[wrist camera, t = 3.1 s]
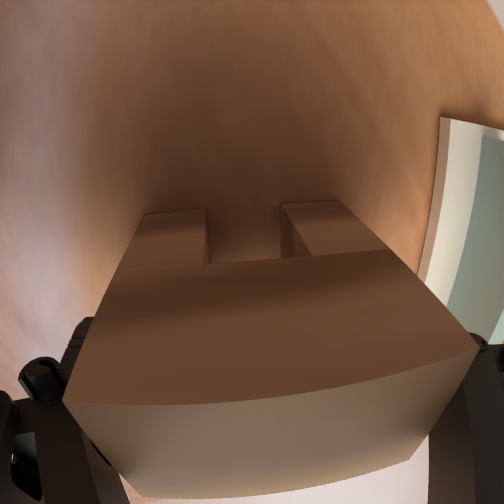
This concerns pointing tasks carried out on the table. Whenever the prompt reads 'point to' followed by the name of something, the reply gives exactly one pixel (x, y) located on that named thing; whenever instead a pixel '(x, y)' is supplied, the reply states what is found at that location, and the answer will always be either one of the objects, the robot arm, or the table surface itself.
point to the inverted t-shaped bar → (468, 228)
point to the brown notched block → (263, 359)
